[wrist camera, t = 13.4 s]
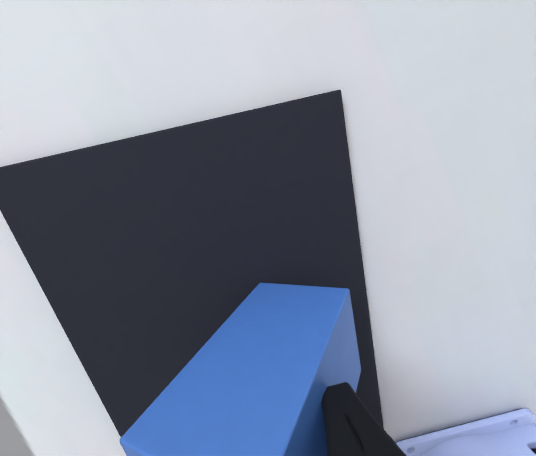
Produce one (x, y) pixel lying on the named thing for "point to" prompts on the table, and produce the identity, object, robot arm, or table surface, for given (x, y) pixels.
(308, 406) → the blue block
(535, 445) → the robot arm
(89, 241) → the desk mat
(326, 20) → the table surface
